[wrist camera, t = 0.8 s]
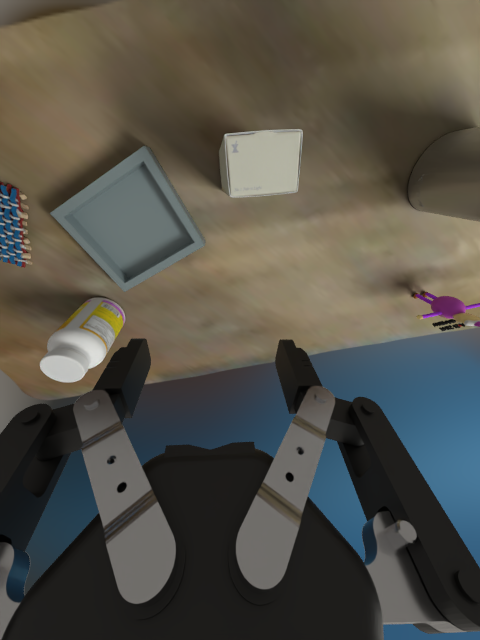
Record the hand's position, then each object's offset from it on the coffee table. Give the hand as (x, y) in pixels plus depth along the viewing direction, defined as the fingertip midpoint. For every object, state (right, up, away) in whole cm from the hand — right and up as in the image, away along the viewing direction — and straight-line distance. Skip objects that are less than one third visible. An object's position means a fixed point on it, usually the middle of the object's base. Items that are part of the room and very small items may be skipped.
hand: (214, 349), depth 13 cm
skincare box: (+2, +21, +14) cm, 26 cm away
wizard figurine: (+35, +7, +28) cm, 45 cm away
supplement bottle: (-21, +3, +24) cm, 32 cm away
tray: (-12, +15, +17) cm, 25 cm away
